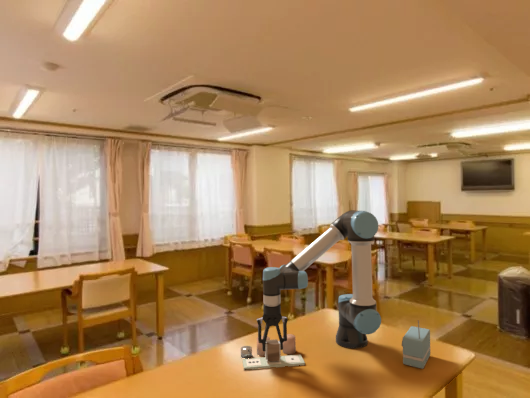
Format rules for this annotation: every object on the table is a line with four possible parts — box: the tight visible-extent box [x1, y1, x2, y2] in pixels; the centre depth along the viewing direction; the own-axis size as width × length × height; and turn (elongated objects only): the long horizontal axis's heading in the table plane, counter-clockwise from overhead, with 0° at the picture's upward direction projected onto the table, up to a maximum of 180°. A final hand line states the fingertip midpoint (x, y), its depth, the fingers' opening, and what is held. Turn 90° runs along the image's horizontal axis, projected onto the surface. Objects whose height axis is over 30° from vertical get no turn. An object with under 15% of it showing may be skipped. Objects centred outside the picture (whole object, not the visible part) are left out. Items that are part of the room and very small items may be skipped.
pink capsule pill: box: [256, 335, 271, 357], centre depth 159 cm, size 6×6×7 cm
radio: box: [401, 320, 431, 369], centre depth 149 cm, size 16×9×20 cm, turn 145°
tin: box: [240, 345, 253, 359], centre depth 156 cm, size 5×5×4 cm
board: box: [242, 354, 306, 370], centre depth 149 cm, size 26×8×1 cm, turn 97°
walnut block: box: [266, 339, 279, 361], centre depth 150 cm, size 5×5×7 cm
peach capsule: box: [281, 333, 297, 355], centre depth 160 cm, size 6×6×7 cm
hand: (272, 357), depth 149 cm, fingers closed on walnut block, 5 cm apart
